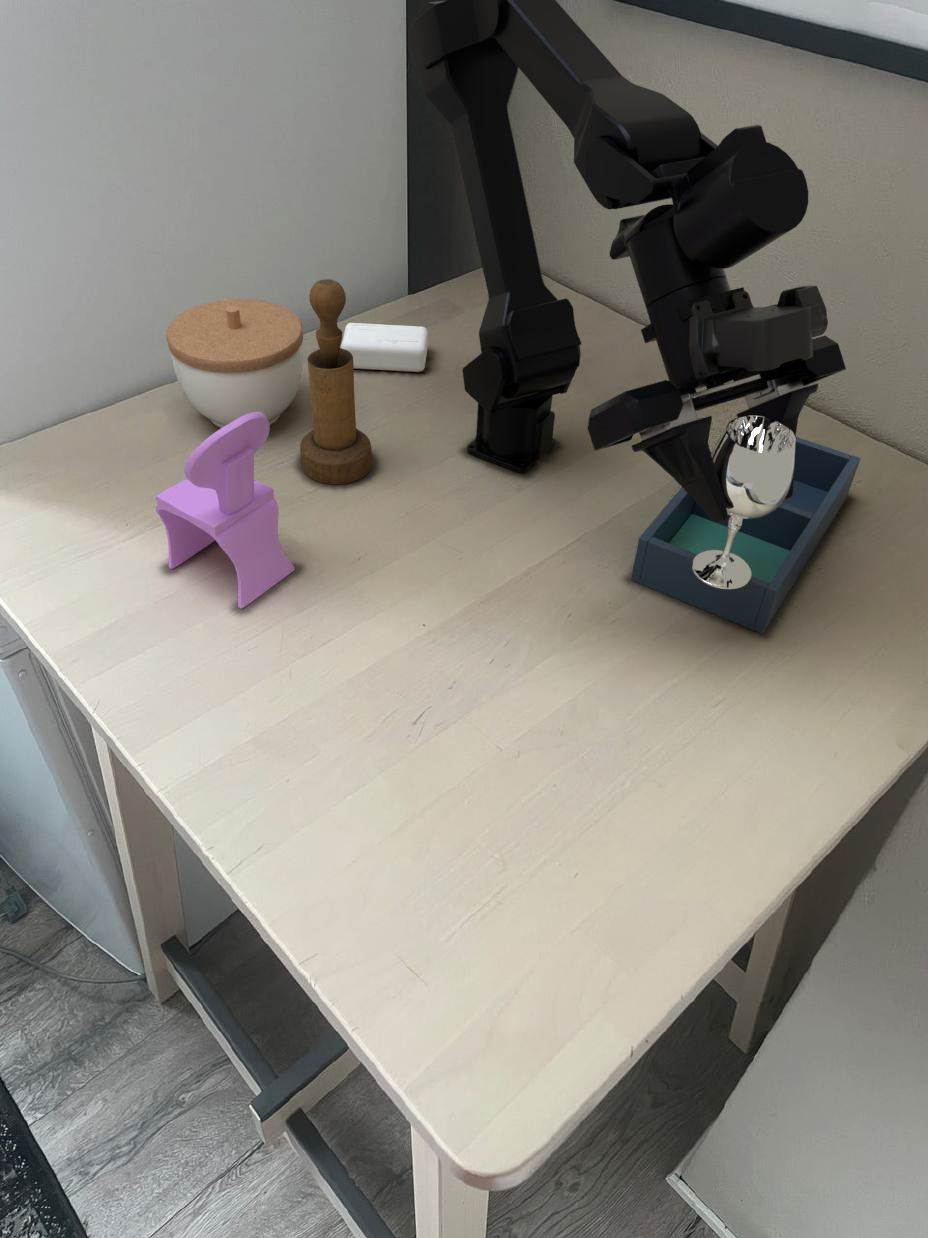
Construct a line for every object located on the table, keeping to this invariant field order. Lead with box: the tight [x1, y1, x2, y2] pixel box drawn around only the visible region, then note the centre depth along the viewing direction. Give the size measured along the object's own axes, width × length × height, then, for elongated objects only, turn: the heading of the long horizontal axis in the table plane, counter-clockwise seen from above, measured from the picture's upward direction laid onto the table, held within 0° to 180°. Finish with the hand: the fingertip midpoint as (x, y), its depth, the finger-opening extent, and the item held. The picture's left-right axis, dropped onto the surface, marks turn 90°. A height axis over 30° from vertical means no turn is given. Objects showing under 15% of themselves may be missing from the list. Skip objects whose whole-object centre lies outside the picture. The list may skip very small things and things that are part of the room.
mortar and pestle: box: [299, 278, 373, 485], centre depth 91 cm, size 7×6×18 cm
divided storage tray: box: [630, 436, 862, 635], centre depth 89 cm, size 12×22×4 cm, turn 148°
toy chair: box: [155, 412, 296, 610], centre depth 80 cm, size 8×9×15 cm
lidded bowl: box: [165, 298, 304, 429], centre depth 99 cm, size 13×13×11 cm
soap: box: [340, 322, 429, 373], centre depth 111 cm, size 9×6×3 cm, turn 88°
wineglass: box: [692, 415, 796, 589], centre depth 73 cm, size 6×6×12 cm
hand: (754, 509), depth 72 cm, fingers closed on wineglass, 5 cm apart
